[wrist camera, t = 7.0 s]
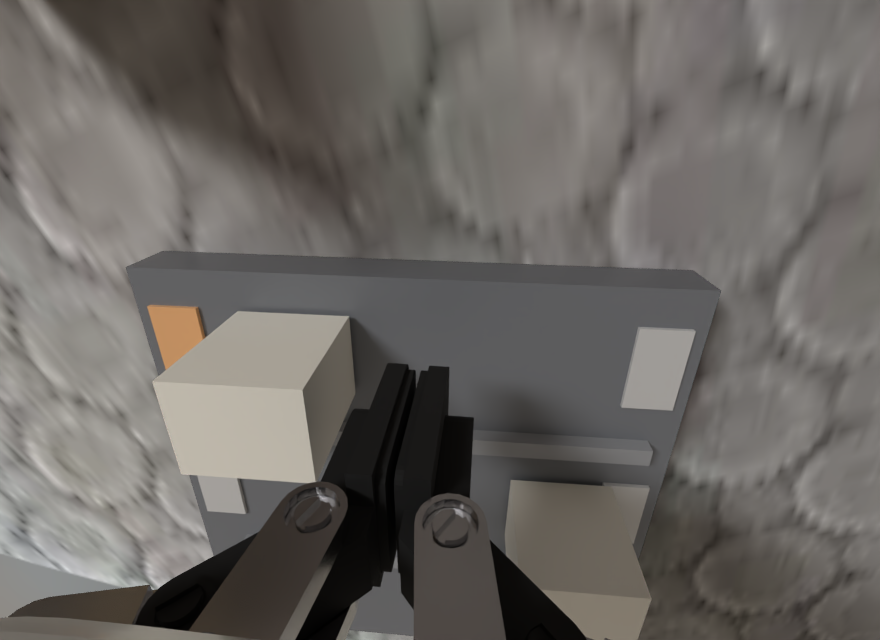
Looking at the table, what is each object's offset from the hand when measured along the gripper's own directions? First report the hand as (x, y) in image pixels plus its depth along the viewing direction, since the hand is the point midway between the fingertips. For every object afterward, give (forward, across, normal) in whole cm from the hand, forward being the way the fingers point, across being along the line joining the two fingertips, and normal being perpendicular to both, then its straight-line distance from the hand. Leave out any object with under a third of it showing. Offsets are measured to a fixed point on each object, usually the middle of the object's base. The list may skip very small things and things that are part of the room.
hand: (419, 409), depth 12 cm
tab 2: (+4, -5, +8) cm, 10 cm away
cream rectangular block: (+4, +5, +1) cm, 6 cm away
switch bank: (+6, +1, +8) cm, 10 cm away
